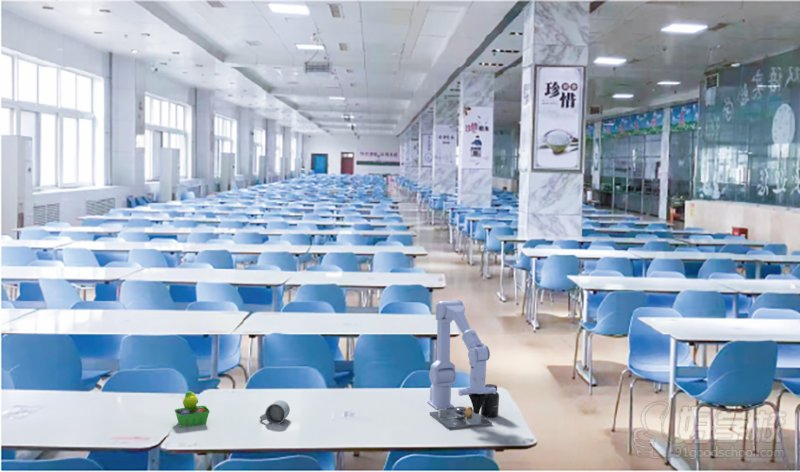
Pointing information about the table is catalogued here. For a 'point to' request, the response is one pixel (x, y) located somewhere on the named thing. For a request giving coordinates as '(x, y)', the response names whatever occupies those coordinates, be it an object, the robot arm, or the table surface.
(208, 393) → the table surface
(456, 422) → the base
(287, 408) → the ceramic mug
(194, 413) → the fruit basket
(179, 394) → the table surface
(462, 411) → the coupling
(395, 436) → the table surface
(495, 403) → the supplement bottle
